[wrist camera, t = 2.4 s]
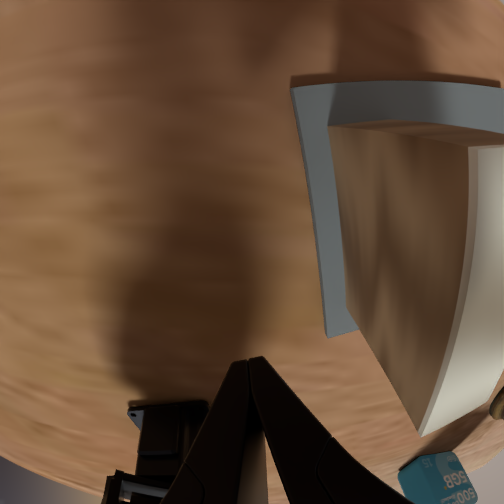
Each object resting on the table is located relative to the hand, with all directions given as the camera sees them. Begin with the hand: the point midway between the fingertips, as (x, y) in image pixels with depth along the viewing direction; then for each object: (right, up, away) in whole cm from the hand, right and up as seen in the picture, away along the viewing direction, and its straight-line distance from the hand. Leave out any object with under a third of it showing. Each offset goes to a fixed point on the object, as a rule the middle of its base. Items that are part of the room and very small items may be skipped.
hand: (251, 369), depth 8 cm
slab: (+6, +5, +7) cm, 10 cm away
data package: (+27, -29, +25) cm, 47 cm away
